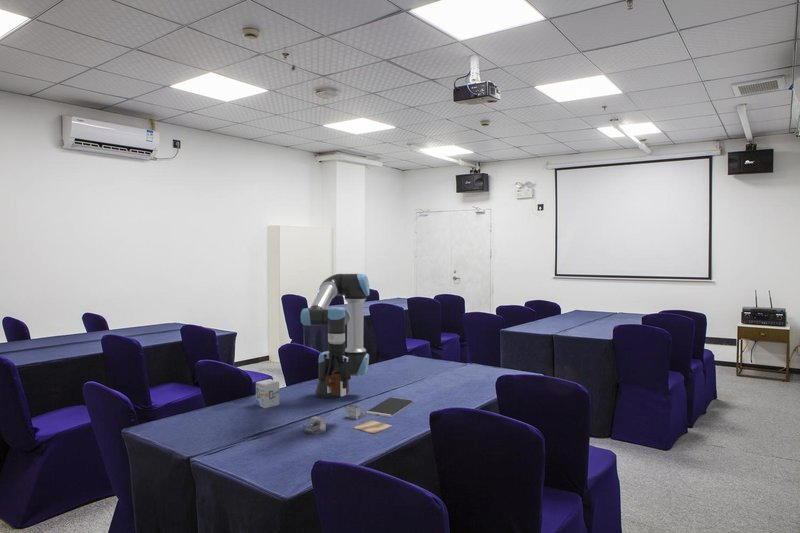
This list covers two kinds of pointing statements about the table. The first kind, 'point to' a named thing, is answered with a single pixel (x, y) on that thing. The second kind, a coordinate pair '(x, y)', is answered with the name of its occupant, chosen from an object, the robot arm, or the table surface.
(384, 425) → the coaster
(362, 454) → the table surface
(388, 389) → the table surface
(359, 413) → the grey angular pieces
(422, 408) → the table surface
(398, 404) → the smartphone
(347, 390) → the mug
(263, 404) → the ink box
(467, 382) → the table surface
